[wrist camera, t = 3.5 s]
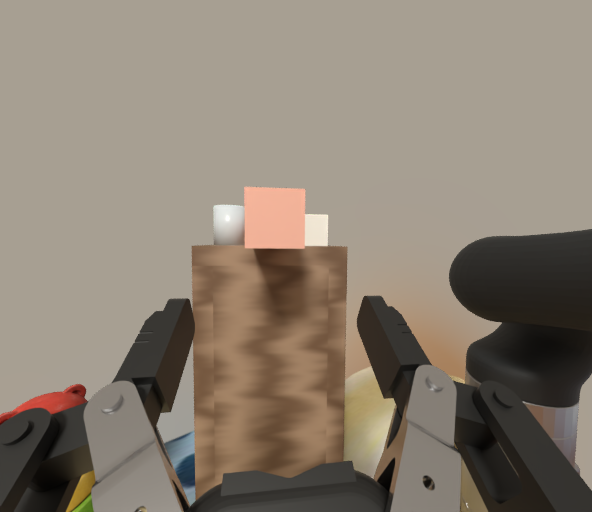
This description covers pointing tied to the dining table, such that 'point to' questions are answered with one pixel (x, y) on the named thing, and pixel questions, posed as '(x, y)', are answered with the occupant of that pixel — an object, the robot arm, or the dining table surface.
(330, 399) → the walnut shelf
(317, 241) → the off-white block brick
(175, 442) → the dining table surface
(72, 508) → the stacking bear
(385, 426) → the dining table surface
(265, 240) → the coral bar brick
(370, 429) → the dining table surface
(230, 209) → the grey-blue round brick
